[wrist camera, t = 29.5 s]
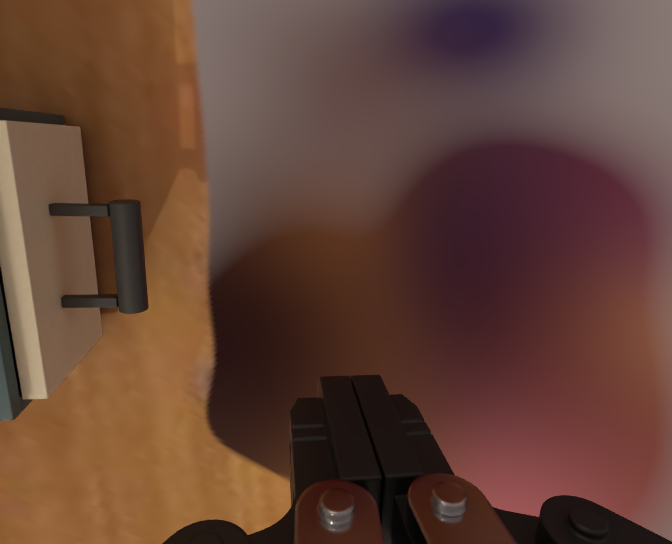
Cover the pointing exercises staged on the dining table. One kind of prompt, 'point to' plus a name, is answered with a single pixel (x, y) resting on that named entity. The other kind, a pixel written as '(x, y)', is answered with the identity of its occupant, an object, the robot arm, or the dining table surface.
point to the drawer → (58, 254)
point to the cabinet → (3, 380)
